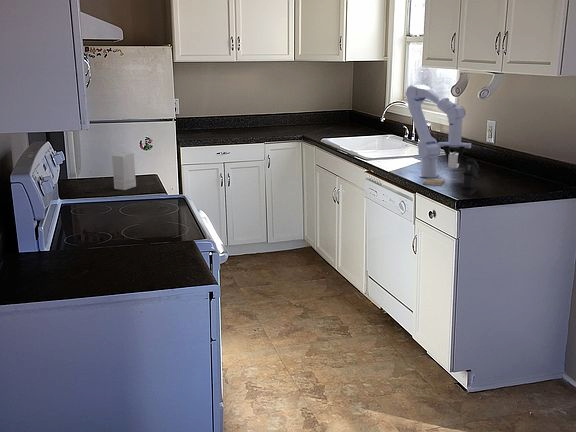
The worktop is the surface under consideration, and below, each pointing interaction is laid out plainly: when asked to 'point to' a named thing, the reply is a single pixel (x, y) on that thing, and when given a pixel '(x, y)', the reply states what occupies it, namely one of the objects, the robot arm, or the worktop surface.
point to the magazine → (470, 177)
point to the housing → (453, 160)
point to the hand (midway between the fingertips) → (453, 162)
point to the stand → (433, 181)
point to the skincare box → (124, 171)
